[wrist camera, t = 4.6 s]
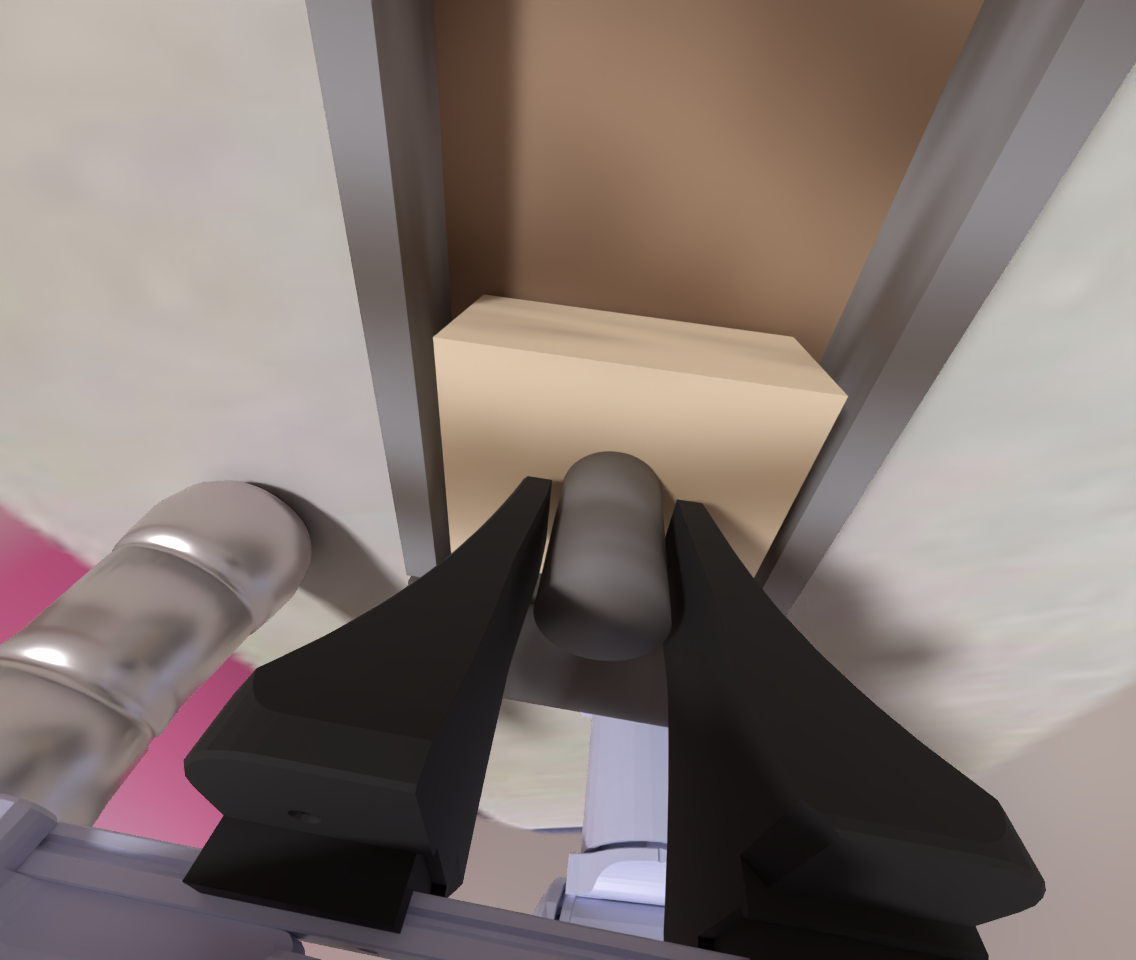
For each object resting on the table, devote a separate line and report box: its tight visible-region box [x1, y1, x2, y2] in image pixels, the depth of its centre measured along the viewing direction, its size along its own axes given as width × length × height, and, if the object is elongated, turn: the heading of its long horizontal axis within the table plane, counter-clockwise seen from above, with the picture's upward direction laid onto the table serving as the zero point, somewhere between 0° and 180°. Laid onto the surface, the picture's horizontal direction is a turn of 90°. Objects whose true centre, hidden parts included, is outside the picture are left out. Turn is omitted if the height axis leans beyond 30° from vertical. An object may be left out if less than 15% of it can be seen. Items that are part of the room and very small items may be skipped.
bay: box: [305, 0, 1136, 728], centre depth 11 cm, size 23×14×7 cm, turn 174°
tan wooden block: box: [433, 295, 848, 661], centre depth 12 cm, size 7×9×8 cm
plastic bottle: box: [0, 481, 311, 827], centre depth 14 cm, size 6×7×20 cm
